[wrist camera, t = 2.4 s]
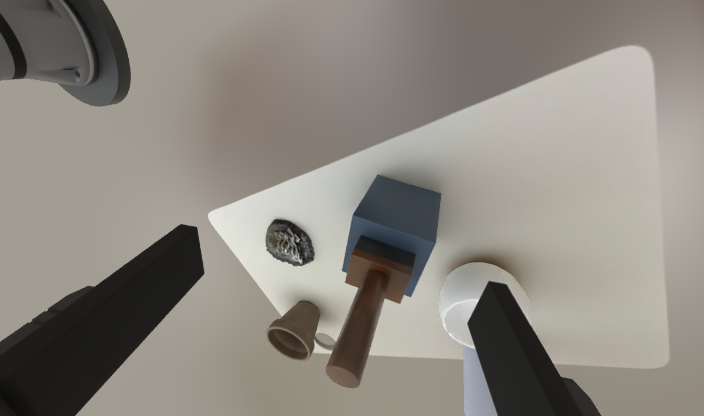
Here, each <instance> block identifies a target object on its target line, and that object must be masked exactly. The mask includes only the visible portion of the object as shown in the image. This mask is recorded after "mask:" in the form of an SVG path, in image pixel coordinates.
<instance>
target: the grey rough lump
mask: <svg viewBox="0 0 704 416" xmlns="http://www.w3.org/2000/svg"><path fill="white" fill-rule="evenodd" d="M266 247H267V251H269V253H270V254H272V256H273V257H274V258H276V259H277V260H280V261H282V262H288V263H289V264H292V265H293V266H302V265H305V264H307V263H309V262H311V261H313V260H314V257H313V256H314V252H313V247H312V242H311V240H310V238H309V236H308V235H307V234H306V233H305V232H304V231H302V230H301V229H300V228H298V227H297V226H295V225H294V224H292V223H291V222H289V221H286V220H279V219H277V220H274V221H273V222H272V223H271V225H270V226H269V227H268V230H267V234H266Z"/></svg>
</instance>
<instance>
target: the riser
mask: <svg viewBox="0 0 704 416" xmlns="http://www.w3.org/2000/svg"><path fill="white" fill-rule="evenodd" d="M440 200H441V194H440V193H436V192H433V191H430V190H426V189H423V188H419V187H416V186H413V185H409V184H406V183H403V182H399V181H396V180H393V179H389V178H386V177H383V176H379V175H377V177H376V178H375V180H374V181H373V183H372V185H371V186H370V188H369V190H368V191H367V193H366V195H365V196H364V198H363V199H362V201H361V203H360V204H359V206H358V208H357V209H356V211H355V212H354V214H353V217H352V222H351V227H350V232H349V237H348V242H347V247H346V253H345V258H344V263H343V268H342V271H343V272H346V273H347V271H348V267H349V262H350V257H351V254H352V252H353V250H354V248H355V246H356V244H357V242H358V240H359V238H360V236H361V235H362V236H365V237H368V238H370V239H373V240H376V241H379V242H382V243H385V244H388V245H391V246H393V247H396V248H399V249H402V250H405V251H408V252H411V253H414V254H416V257H415V262H414V268H413V273H412V277H411V279H410V282H409V284H408V286H407V289H406V291H405V293H404V295H406V296H409V297H411V296H412V294H413V291H414V289H415V287H416V285H417V283H418V280H419V278H420V276H421V274H422V272H423V270H424V267H425V265H426V263H427V261H428V259H429V256H430V254H431V252H432V250H433V248H434V246H435V243H436V236H437V227H438V218H439V209H440Z"/></svg>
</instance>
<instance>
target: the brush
mask: <svg viewBox="0 0 704 416" xmlns="http://www.w3.org/2000/svg"><path fill="white" fill-rule="evenodd" d="M415 257H416V254H414V253H411V252H408V251H405V250H402V249H399V248H396V247H393V246H391V245H388V244H385V243H382V242H379V241H376V240H373V239H370V238H368V237H365V236H362V235H361V236H360V238H359V240H358V242H357V244H356V246H355V248H354V250H353V252H352V254H351V257H350V262H349V267H348V271H347V276H346V281H345V283H347V284H350V285H352V286H355V287H358V291H357V293H356V296H355V298H354V301H353V303H352V305H351V308H350V310H349V313H348V315H347V318H346V320H345V323H344V325H343V328H342V330H341V332H340V335H339V337H338V340H337V342H336V345H335V347H334V350H333V352H332V355H331V357H330V359H329V362H328V364H327V367H326V374H327V375H328V376H329V378H330V379H332V380H333V381H334V382H336V383H337V384H339V385H341V386H345V387H348V388H356V387H358V386H359V385H360V382H361V378H362V375H363V371H364V368H365V365H366V361H367V358H368V354H369V351H370V347H371V344H372V340H373V337H374V333H375V330H376V326H377V323H378V319H379V316H380V313H381V309H382V306H383V302H384V299H385V298H386V299H388V300H391V301H394V302H396V303H399V304H400V303H401V300H402V298H403V296H404V293H405V291H406V289H407V286H408V284H409V282H410V279H411V277H412V273H413V268H414V262H415Z"/></svg>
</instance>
